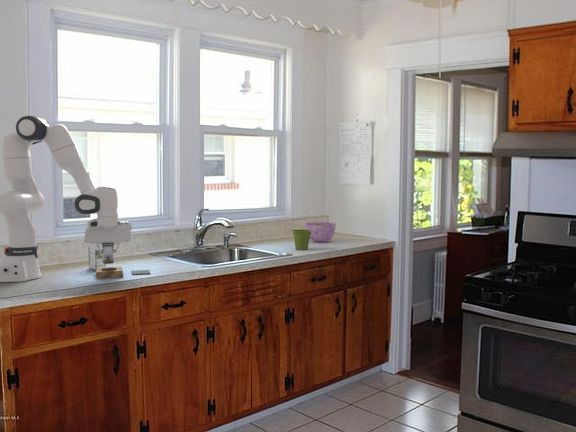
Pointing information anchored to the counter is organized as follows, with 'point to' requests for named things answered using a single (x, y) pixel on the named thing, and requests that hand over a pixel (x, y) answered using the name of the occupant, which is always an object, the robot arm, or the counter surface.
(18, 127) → the robot arm
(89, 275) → the counter surface
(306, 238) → the plant pot
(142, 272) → the mat
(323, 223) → the purple rounded bowl
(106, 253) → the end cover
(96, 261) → the syrup box
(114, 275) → the brown flat square block
